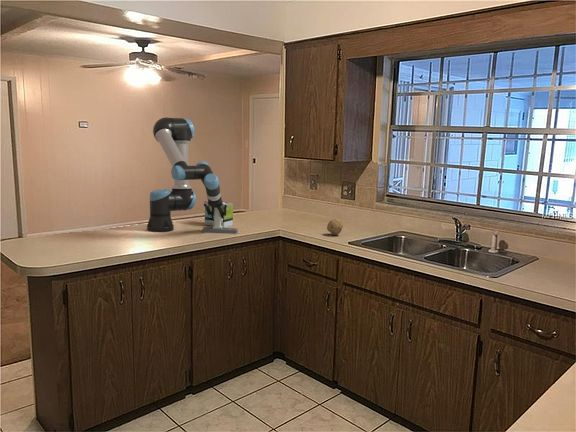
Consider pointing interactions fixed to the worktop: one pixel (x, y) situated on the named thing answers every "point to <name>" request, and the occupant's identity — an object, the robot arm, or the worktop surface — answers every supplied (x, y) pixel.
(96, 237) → the worktop surface
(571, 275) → the worktop surface
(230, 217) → the tea box
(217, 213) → the fader tab
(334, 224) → the natural sponge
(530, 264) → the worktop surface
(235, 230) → the fader console
